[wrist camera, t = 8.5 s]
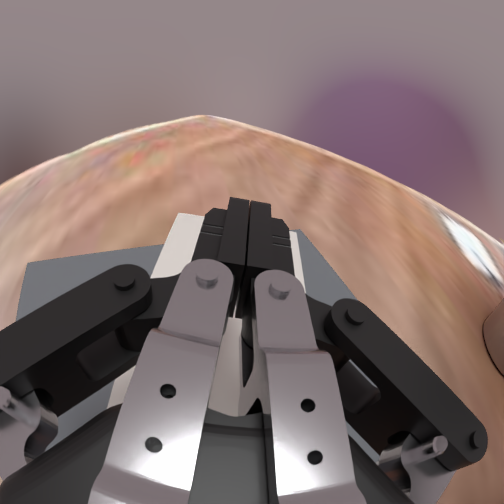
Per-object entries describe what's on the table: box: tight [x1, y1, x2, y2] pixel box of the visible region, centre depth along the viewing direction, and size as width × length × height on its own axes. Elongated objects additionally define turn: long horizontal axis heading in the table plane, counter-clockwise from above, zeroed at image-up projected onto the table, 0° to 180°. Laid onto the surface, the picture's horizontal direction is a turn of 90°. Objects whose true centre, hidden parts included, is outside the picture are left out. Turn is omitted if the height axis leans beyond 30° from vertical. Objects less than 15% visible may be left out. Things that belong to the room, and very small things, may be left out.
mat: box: [16, 229, 380, 463], centre depth 14 cm, size 24×20×1 cm
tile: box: [107, 213, 306, 417], centre depth 15 cm, size 2×9×15 cm
